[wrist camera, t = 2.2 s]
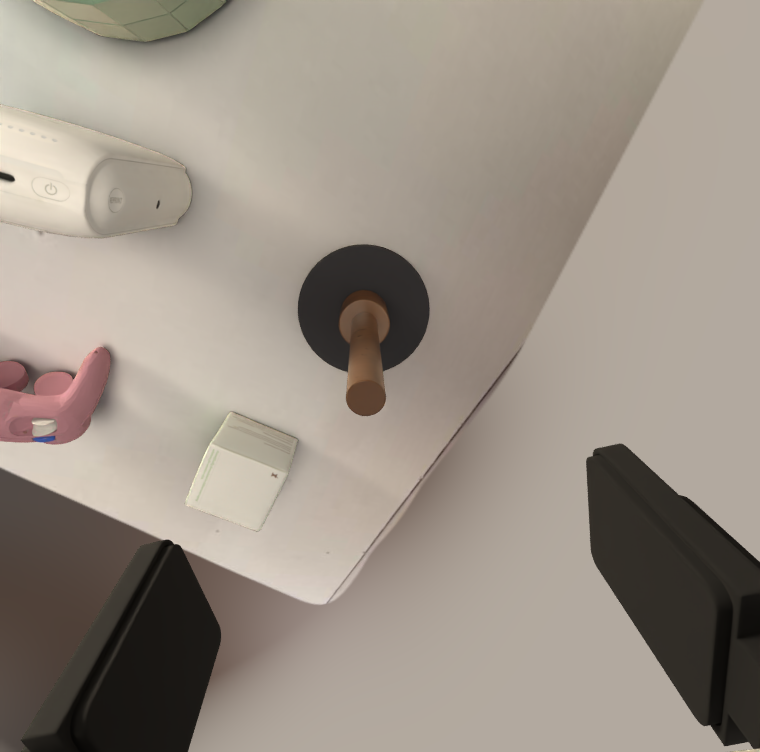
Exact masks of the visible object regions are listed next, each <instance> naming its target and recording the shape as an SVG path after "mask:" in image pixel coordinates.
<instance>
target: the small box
mask: <svg viewBox="0 0 760 752" xmlns="http://www.w3.org/2000/svg"><path fill="white" fill-rule="evenodd" d="M297 443H298V440H297V439H296V438H293V437H291V436H289V435H286V434H284V433H282V432H279V431H277V430H274V429H272V428H270V427H267V426H265V425H262V424H260V423H257V422H255V421H253V420H250V419H248V418H246V417H243V416H241V415H239V414H236V413H233V412H230V413H229V415H228V416H227V418H226V419H225V421H224V423H223V424H222V426H221V427H220V429H219V431H218V432H217V434H216V435H215V437H214V439H213V440H212V442H211V443H210V444H209V446H208V448H207V450H206V453H205V455H204V457H203V459H202V462H201V464H200V467H199V469H198V471H197V474H196V476H195V479H194V481H193V484H192V486H191V489H190V491H189V494H188V496H187V499H186V502H185V505H187V506H190V507H192V508H195V509H197V510H200V511H202V512H205V513H208V514H211V515H213V516H216V517H219V518H222V519H225V520H227V521H230V522H233V523H235V524H238V525H241V526H243V527H246V528H249V529H251V530H254V531H256V532H259V531H260V530H261V528H262V526H263V524H264V522H265V520H266V518H267V516H268V514H269V512H270V510H271V508H272V506H273V504H274V502H275V500H276V498H277V496H278V494H279V492H280V490H281V488H282V486H283V484H284V482H285V480H286V478H287V476H288V473H289V470H290V467H291V464H292V460H293V457H294V453H295V449H296V446H297Z"/></svg>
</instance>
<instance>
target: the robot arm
mask: <svg viewBox="0 0 760 752" xmlns="http://www.w3.org/2000/svg"><path fill="white" fill-rule="evenodd" d="M586 465H587V466H586V467H587V486H588V503H589V504H588V505H589V524H590V543H591V553H592V557H593V560H594V562H595V564H596V566H597V568H598V569H599V571H600V572H601V574H602V575H603V577H604V579H605V580H606V582H607V583H608V585H609V586H610V588H611V589H612V591H613V592H614V594H615V596H616V597H617V599H618V600H619V602H620V603H621V605H622V606H623V608H624V609H625V611H626V612H627V614H628V615H629V617H630V618H631V620H632V621H633V623H634V625H635V626H636V627H637V629H638V631H639V632H640V634H641V635H642V637H643V638H644V640H645V641H646V643H647V645H648V646H649V647H650V649H651V651H652V652H653V654H654V655H655V657H656V658H657V660H658V661H659V663H660V664H661V666H662V667H663V669H664V671H665V672H666V674H667V675H668V677H669V678H670V680H671V681H672V683H673V684H674V686H675V687H676V689H677V691H678V692H679V693H680V695H681V697H682V698H683V700H684V701H685V703H686V704H687V706H688V707H689V709H690V710H691V712H692V713H693V715H694V716H695V718H696V719H697V720H698V722H699V723H700V724H702V725H703V726H708V725H711V727H712V728H713V730H714V731H715V733H716V734H717V736H718V737H719V739H720V740H721V741H722V743H723V744H724V746H729V745H734V744H740V743H745V742H749V743H750V744H751V746H752V747H753V749H751V750H741V751H732V752H760V562H759V561H758V560H757V559H756V558H754V556H752V555H751V554H750V553H749V552H748V551H747V550H746V549H745V548H743V547H742V546H741V545H740V544H739V543H738V542H737V541H736V540H735V539H734V538H732V537H731V536H730V535H729V534H728V533H727V532H726V531H725V530H724V529H723V528H721V527H720V526H719V525H718V524H717V523H716V522H715V521H714V520H713V519H711V518H710V517H709V516H708V515H707V514H706V513H705V512H704V511H703V510H701V509H700V508H699V507H698V506H697V505H696V504H695V503H694V502H692V501H691V500H690V499H688V498H687V497H684V496H681V495H678V494H677V493H676V492H675V491H674V490H673V489H672V488H671V487H670V486H669V485H667V484H666V483H665V482H664V481H663V480H662V479H661V478H660V477H659V476H658V475H657V474H656V473H654V472H653V471H652V470H651V469H650V468H649V467H648V466H647V465H646V464H645V463H644V462H643V461H641V460H640V459H639V458H638V457H637V456H636V455H635V454H634V453H633V452H632V451H631V450H629V449H628V448H627V447H626V446H625V445H623V444H617V445H611V446H607V447H602V448H597V449H595V450H594V452H593V456H592V457H588V458H587V461H586ZM220 642H221V630H220V626H219V624H218V622H217V620H216V618H215V616H214V614H213V611H212V609H211V607H210V605H209V603H208V601H207V599H206V597H205V595H204V593H203V591H202V589H201V587H200V585H199V583H198V581H197V578H196V576H195V574H194V572H193V570H192V568H191V566H190V564H189V562H188V560H187V558H186V556H185V554H184V552H183V550H182V548H181V546H180V545H178V544H175V545H174V544H173V542H172V541H170V540H163V541H158V542H153V543H149V544H144V545H142V546H140V548H139V549H138V550H137V552H136V553H135V555H134V557H133V559H132V560H131V562H130V563H129V565H128V567H127V568H126V570H125V571H124V573H123V575H122V576H121V578H120V580H119V581H118V583H117V584H116V586H115V588H114V589H113V591H112V593H111V594H110V596H109V598H108V599H107V601H106V602H105V604H104V606H103V607H102V609H101V610H100V612H99V614H98V615H97V617H96V619H95V620H94V622H93V623H92V625H91V627H90V628H89V630H88V632H87V633H86V635H85V636H84V638H83V640H82V641H81V643H80V645H79V646H78V648H77V650H76V651H75V653H74V655H73V656H72V658H71V659H70V661H69V663H68V664H67V666H66V667H65V669H64V671H63V673H62V674H61V676H60V677H59V679H58V681H57V682H56V684H55V685H54V687H53V689H52V690H51V692H50V694H49V695H48V697H47V699H46V700H45V702H44V703H43V705H42V707H41V708H40V710H39V711H38V713H37V715H36V716H35V718H34V719H33V721H32V723H31V724H30V726H29V728H28V729H27V731H26V732H25V734H24V736H23V737H22V739H21V741H22V742H23V744H24V745H25V747H24V748H23V750H22V752H188V749H189V746H190V743H191V739H192V736H193V733H194V729H195V726H196V722H197V719H198V716H199V713H200V709H201V706H202V703H203V699H204V696H205V693H206V689H207V686H208V683H209V679H210V676H211V673H212V669H213V666H214V662H215V659H216V656H217V652H218V649H219V646H220Z"/></svg>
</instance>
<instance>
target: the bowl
mask: <svg viewBox="0 0 760 752" xmlns="http://www.w3.org/2000/svg"><path fill="white" fill-rule="evenodd" d="M32 1H33V2H35V3H37V4H38V5H40V6H42V7H44V8H45V9H47V10H49V11H50V12H52V13H54V14H56V15H58V16H60V17H62V18H64V19H66V20H68V21H70V22H72V23H74V24H76V25H78V26H80V27H82V28H85V29H87V30H89V31H91V32H93V33H95V34H97V35H99V36H100V35H101V36H104V37H112V38H119V39H127V40H135V41H143V42H145V41H147V42H148V41H152V40H156V39H160V38H164V37H168V36H172V35H176V34H180V33H184V32H187V31H188V30H191V29H192V28H193V27H195V26H196V25H197V24H199V23H200V22H201V21H203V20H204V19H205V18H207V17H208V16H209V15H211V14H212V13H213V12H215V11H216V10H217V9H219V8H220V7H221V6H223V3H224V4H225V3H226V1H227V0H32Z"/></svg>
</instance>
